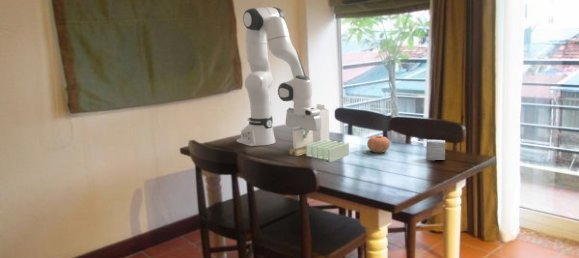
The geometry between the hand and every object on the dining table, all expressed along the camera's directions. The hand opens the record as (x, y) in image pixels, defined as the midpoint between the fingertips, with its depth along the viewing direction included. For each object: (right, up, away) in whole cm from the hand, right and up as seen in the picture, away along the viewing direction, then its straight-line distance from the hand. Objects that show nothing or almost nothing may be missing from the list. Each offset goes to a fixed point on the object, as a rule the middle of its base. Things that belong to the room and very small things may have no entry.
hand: (302, 137), depth 230 cm
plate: (0, -6, +1) cm, 6 cm away
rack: (+12, -9, -6) cm, 16 cm away
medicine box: (+59, -10, -17) cm, 63 cm away
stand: (+1, -8, +1) cm, 8 cm away
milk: (+10, -5, +13) cm, 17 cm away
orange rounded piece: (+37, -7, -1) cm, 37 cm away
